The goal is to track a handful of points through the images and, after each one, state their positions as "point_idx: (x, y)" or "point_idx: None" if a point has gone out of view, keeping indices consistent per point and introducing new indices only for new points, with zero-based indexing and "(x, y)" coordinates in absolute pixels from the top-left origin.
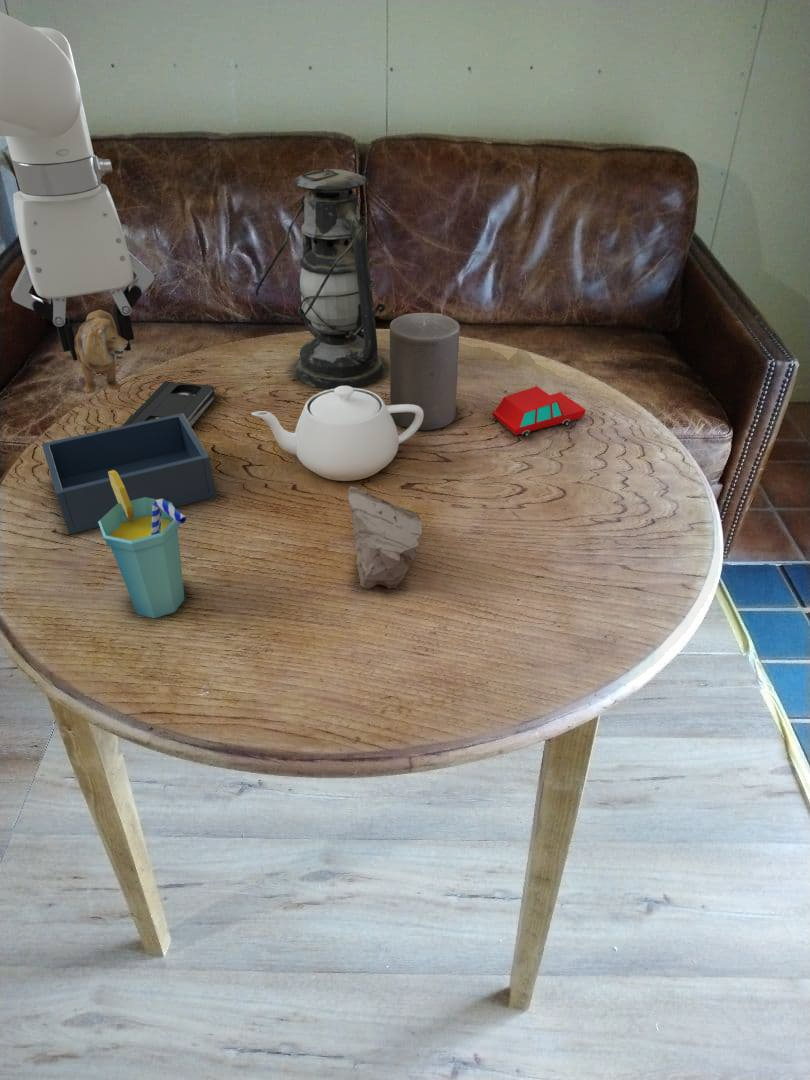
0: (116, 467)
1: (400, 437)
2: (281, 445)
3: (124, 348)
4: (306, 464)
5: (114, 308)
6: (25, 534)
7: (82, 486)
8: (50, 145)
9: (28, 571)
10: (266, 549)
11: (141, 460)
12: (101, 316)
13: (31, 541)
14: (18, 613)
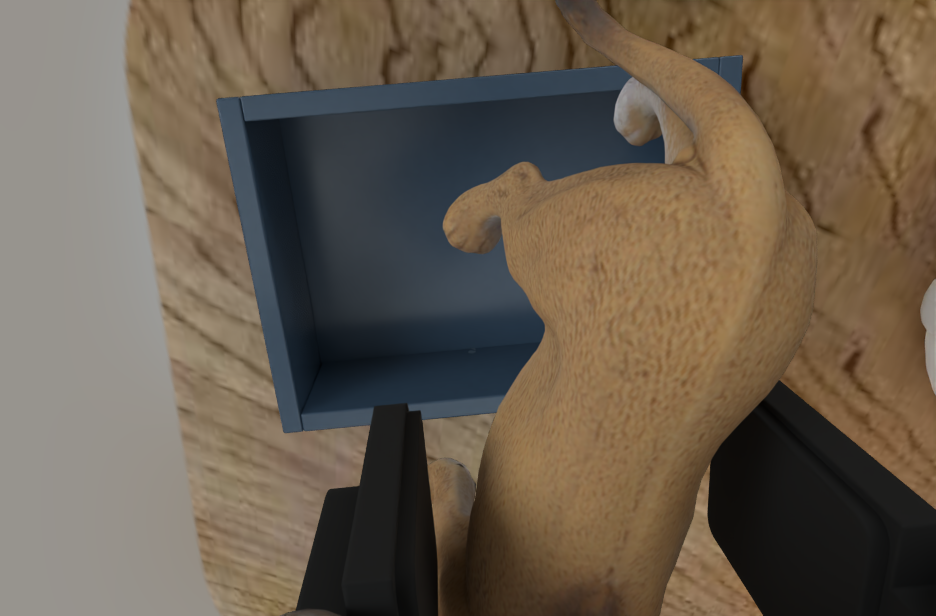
0: (450, 112)
1: None
2: (927, 329)
3: (715, 534)
4: (931, 377)
5: (904, 546)
6: (205, 332)
7: (356, 424)
8: None
9: (227, 468)
10: (698, 547)
11: (528, 98)
12: (725, 423)
13: (223, 365)
14: (222, 578)
